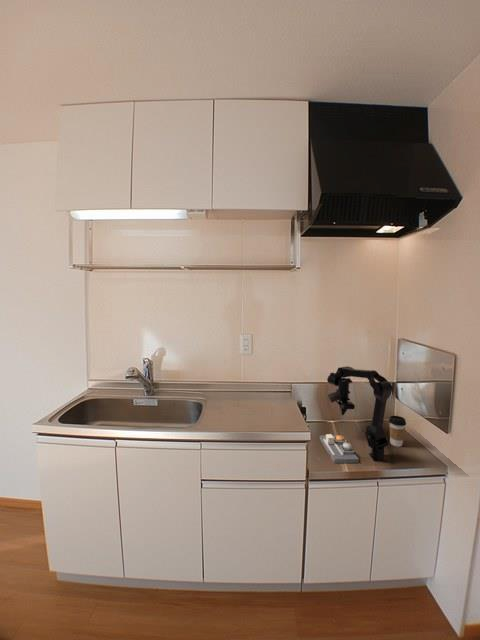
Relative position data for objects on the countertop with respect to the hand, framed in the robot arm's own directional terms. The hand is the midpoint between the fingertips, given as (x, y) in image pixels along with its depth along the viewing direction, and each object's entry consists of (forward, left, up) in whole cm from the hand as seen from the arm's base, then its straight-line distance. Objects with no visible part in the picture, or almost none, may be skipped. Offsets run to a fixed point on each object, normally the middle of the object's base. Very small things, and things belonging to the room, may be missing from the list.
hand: (342, 415), depth 173 cm
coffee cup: (-9, -27, -13) cm, 31 cm away
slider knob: (-10, +10, -11) cm, 18 cm away
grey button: (-19, +5, -9) cm, 22 cm away
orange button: (-9, +4, -11) cm, 15 cm away
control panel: (-14, +7, -13) cm, 20 cm away
